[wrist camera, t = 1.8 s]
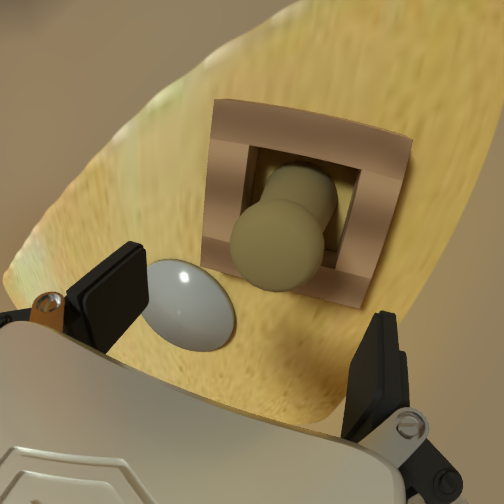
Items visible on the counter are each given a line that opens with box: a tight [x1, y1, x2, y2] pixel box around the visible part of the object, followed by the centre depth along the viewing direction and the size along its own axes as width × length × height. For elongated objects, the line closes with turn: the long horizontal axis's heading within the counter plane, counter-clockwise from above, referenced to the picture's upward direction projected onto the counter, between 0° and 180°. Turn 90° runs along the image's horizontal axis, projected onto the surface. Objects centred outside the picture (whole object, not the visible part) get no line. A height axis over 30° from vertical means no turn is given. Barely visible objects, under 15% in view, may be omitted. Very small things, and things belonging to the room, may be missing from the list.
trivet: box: [141, 259, 235, 352], centre depth 34 cm, size 12×12×1 cm
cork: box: [230, 161, 338, 292], centre depth 21 cm, size 6×6×11 cm
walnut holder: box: [200, 99, 413, 309], centre depth 24 cm, size 14×14×3 cm
